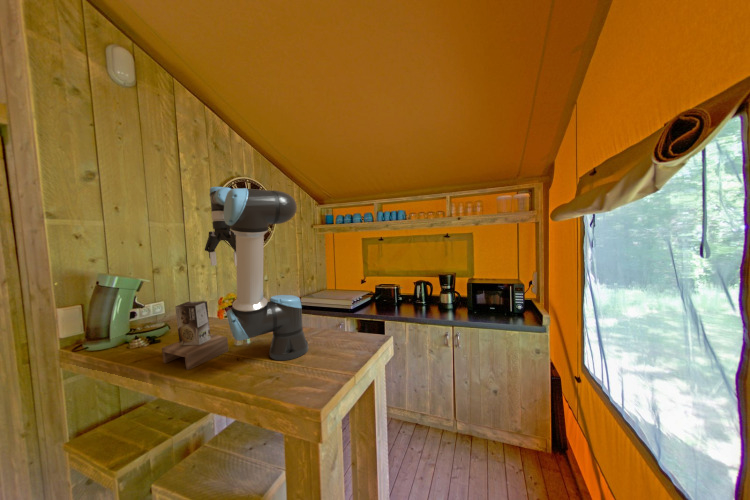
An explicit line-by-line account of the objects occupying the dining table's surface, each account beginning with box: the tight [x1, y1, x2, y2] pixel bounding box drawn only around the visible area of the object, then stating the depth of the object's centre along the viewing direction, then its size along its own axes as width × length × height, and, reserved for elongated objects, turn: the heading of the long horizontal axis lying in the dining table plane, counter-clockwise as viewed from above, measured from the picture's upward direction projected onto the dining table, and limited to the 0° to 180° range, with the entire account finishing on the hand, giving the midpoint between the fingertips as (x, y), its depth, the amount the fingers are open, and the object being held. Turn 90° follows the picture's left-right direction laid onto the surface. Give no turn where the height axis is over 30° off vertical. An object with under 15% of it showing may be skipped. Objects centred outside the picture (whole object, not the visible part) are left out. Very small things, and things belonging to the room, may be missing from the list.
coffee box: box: [174, 300, 211, 345], centre depth 106 cm, size 9×6×16 cm
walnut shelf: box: [161, 333, 229, 371], centre depth 106 cm, size 16×16×6 cm
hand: (225, 265), depth 125 cm, fingers open, 13 cm apart
